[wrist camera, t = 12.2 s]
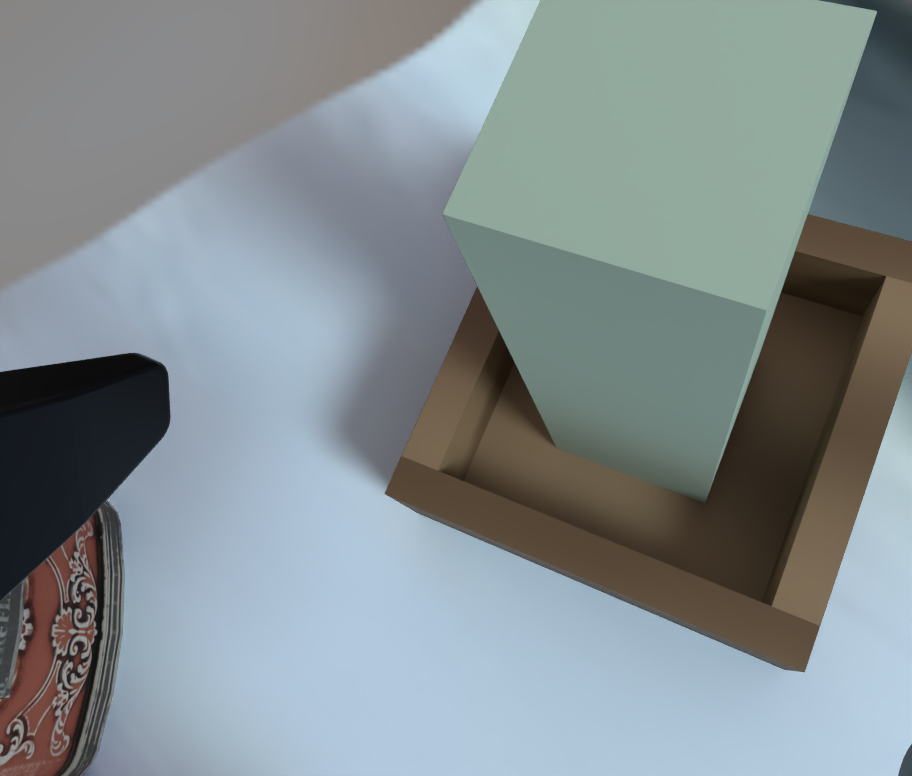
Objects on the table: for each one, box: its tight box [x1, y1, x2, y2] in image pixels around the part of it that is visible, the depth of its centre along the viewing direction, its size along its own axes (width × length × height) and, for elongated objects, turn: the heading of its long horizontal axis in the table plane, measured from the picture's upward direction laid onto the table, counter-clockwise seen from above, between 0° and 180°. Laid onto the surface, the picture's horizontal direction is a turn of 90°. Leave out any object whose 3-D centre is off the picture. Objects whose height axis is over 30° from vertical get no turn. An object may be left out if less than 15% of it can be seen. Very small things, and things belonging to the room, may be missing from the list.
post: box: [442, 0, 877, 503], centre depth 16 cm, size 4×4×13 cm
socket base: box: [385, 214, 912, 672], centre depth 22 cm, size 10×10×3 cm
